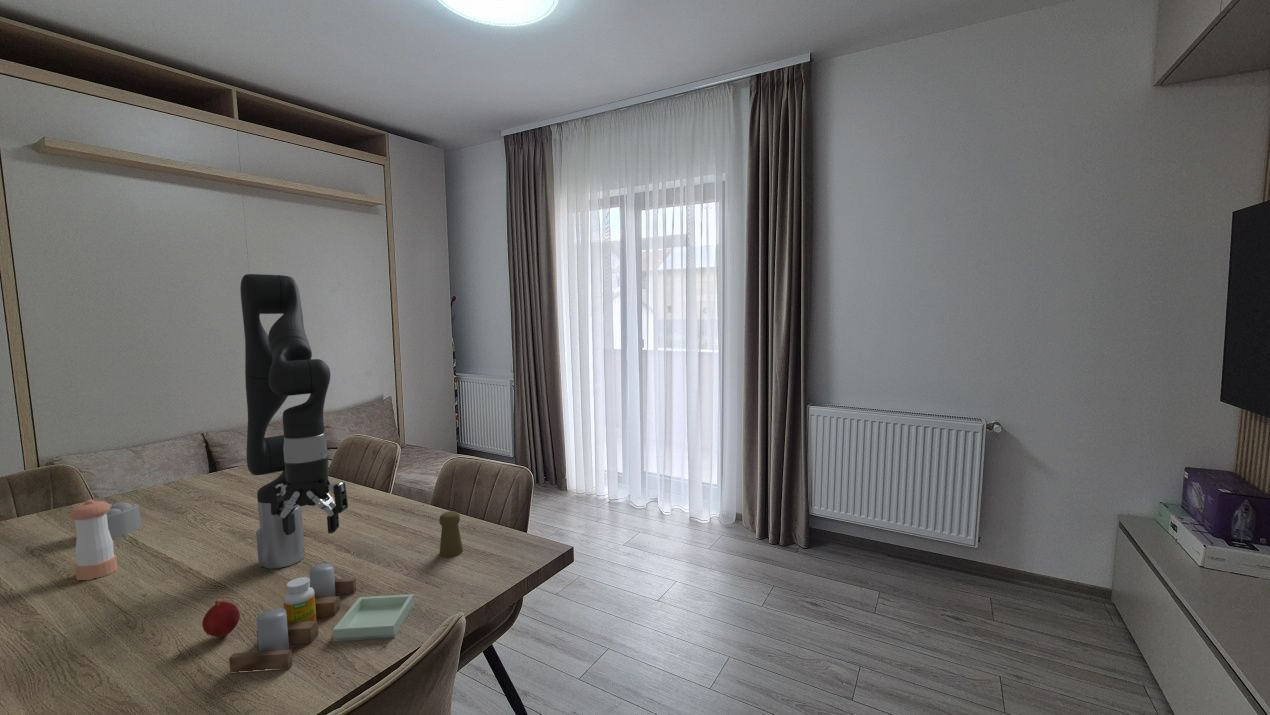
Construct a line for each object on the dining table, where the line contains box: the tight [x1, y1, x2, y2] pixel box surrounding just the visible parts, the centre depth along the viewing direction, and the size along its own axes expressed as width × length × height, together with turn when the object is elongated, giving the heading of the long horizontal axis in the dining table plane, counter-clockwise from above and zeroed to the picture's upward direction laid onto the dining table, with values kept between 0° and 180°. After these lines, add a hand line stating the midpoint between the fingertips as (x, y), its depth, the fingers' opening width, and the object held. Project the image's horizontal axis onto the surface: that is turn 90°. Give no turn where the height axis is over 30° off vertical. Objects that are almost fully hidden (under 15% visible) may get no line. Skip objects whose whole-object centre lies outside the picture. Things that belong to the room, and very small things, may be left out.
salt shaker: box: [69, 499, 118, 581], centre depth 130 cm, size 7×7×19 cm
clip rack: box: [228, 577, 357, 672], centre depth 107 cm, size 10×27×3 cm, turn 4°
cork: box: [438, 510, 464, 559], centre depth 139 cm, size 6×6×11 cm
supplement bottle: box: [283, 576, 317, 622], centre depth 107 cm, size 5×5×10 cm
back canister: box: [309, 562, 337, 598], centre depth 116 cm, size 5×5×8 cm
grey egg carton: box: [106, 501, 142, 539], centre depth 155 cm, size 10×13×9 cm
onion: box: [201, 598, 241, 639], centre depth 104 cm, size 6×6×8 cm
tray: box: [332, 593, 415, 642], centre depth 108 cm, size 12×12×2 cm
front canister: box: [255, 608, 290, 652], centre depth 98 cm, size 5×5×8 cm
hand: (311, 532), depth 108 cm, fingers open, 8 cm apart
